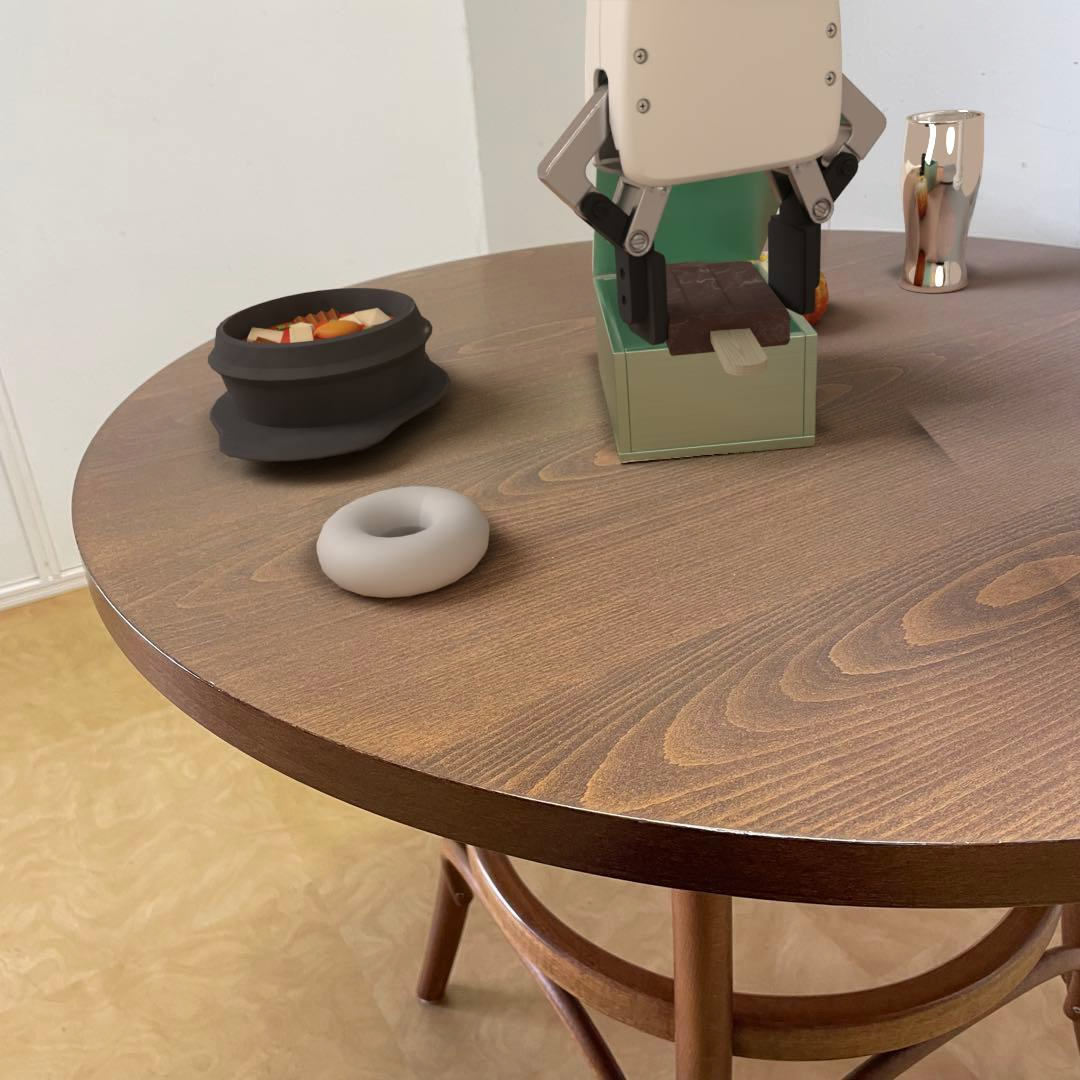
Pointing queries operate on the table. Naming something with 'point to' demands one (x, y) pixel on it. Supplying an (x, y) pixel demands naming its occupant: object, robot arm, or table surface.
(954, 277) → the beer glass
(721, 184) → the freezer lid
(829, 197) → the robot arm
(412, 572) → the donut
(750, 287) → the ice cream bar
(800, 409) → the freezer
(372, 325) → the casserole
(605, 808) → the table surface
